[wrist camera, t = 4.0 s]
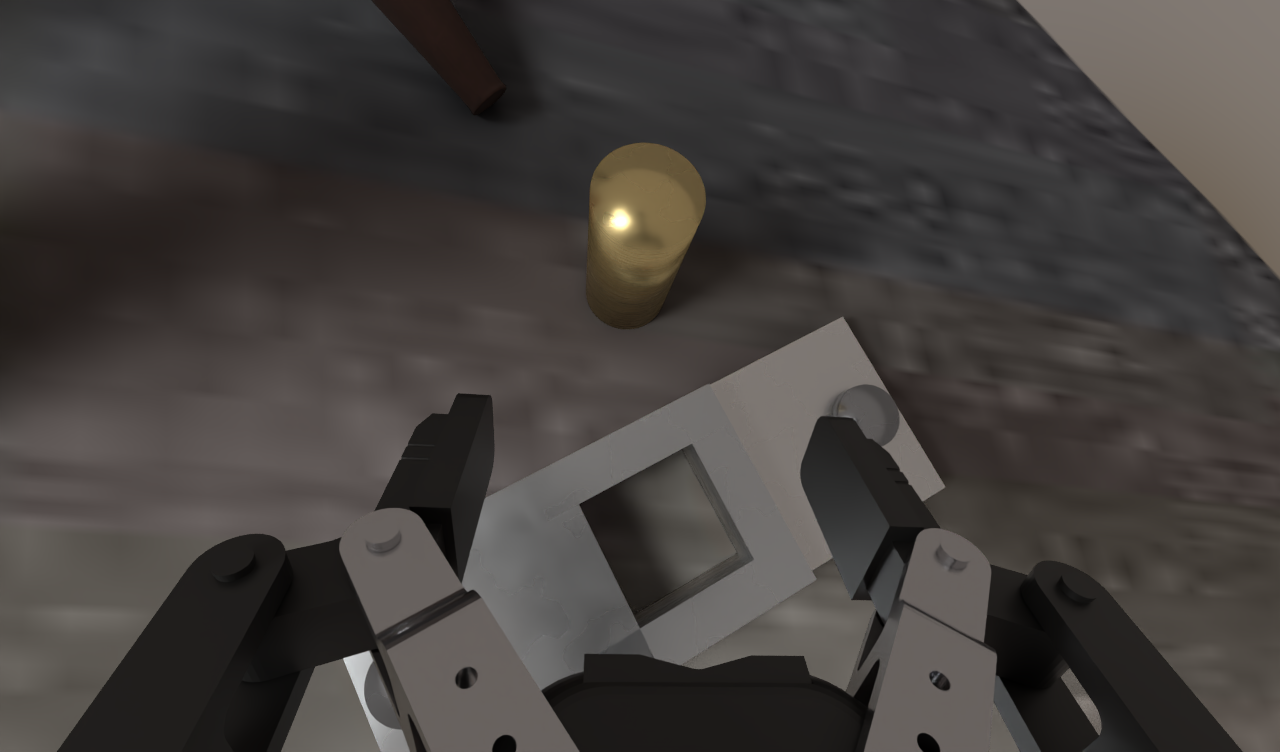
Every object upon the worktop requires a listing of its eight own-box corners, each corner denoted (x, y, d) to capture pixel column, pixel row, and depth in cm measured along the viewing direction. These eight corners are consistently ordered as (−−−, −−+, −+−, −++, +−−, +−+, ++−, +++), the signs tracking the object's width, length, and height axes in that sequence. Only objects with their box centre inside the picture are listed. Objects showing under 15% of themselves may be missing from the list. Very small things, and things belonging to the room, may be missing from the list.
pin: (608, 342, 26) (623, 266, 17) (572, 273, 27) (569, 167, 18) (678, 309, 27) (726, 220, 18) (641, 243, 27) (671, 127, 19)
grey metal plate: (432, 795, 21) (407, 847, 18) (341, 576, 22) (303, 589, 19) (929, 487, 26) (976, 486, 23) (831, 323, 28) (863, 302, 25)
